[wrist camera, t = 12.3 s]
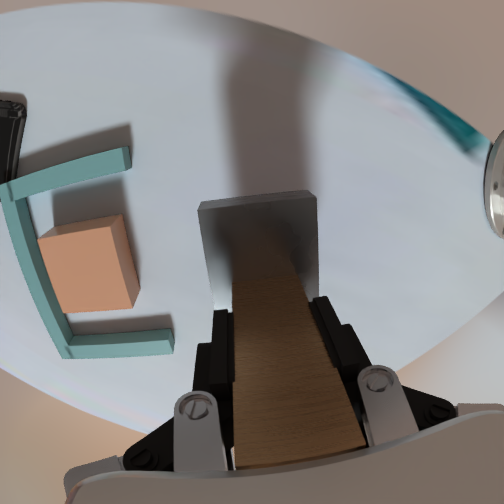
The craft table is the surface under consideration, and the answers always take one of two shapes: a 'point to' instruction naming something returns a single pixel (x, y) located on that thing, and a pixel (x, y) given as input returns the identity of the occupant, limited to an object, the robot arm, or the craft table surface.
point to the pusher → (276, 330)
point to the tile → (91, 265)
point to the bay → (37, 273)
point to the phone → (10, 138)
